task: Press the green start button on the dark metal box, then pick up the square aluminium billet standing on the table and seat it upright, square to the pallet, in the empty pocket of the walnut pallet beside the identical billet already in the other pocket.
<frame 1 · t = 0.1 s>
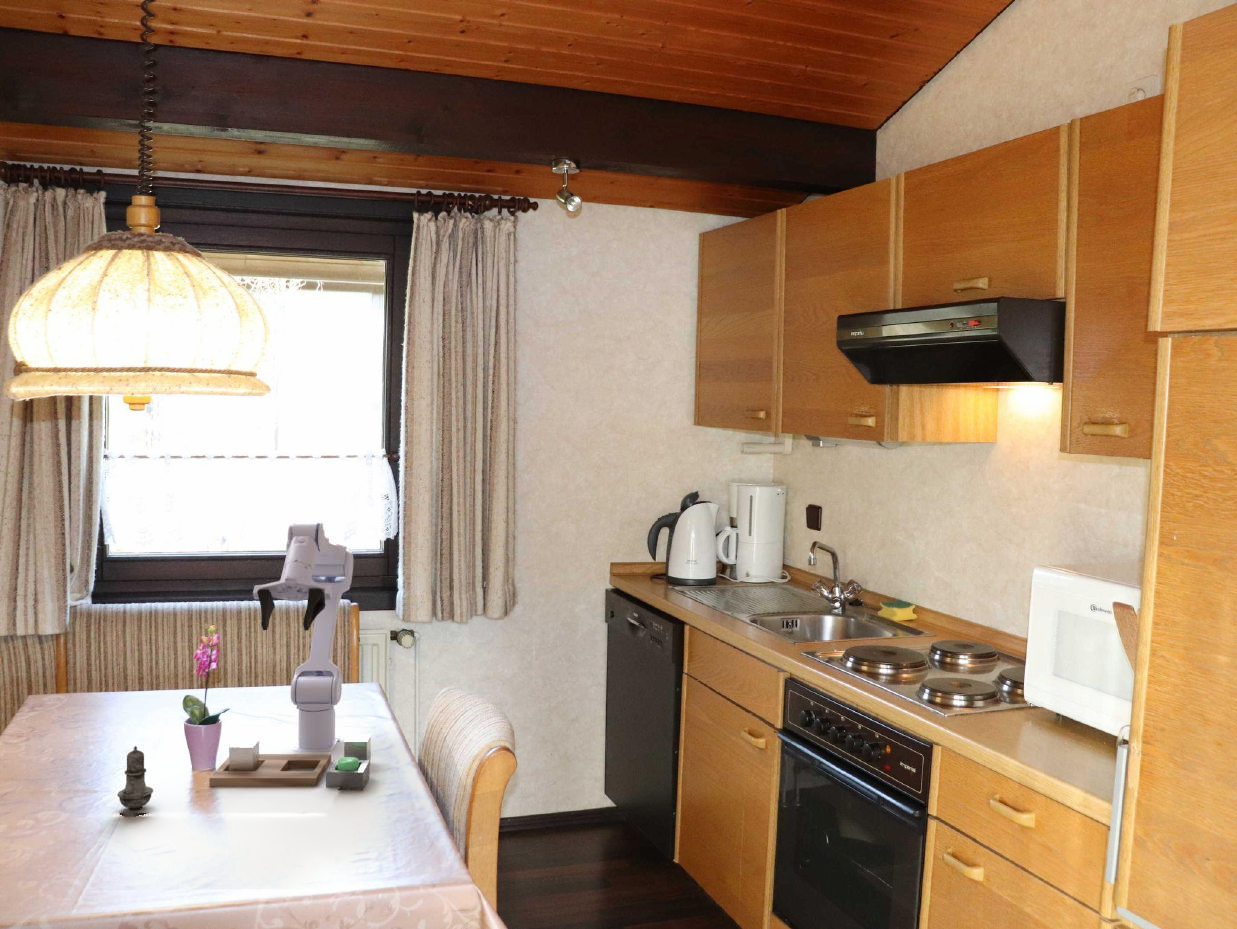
hand: (284, 627, 198), 32 cm above the table, tool tilted 50°, fingers open, 7 cm apart
billet: (357, 766, 216), on the table
salt shaker: (135, 812, 190), on the table
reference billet: (244, 773, 209), point 1 cm above the table, touching pallet
pallet: (272, 776, 209), on the table
button box: (347, 783, 206), on the table
start button: (348, 767, 206), point 3 cm above the table, slide at 0.0 cm
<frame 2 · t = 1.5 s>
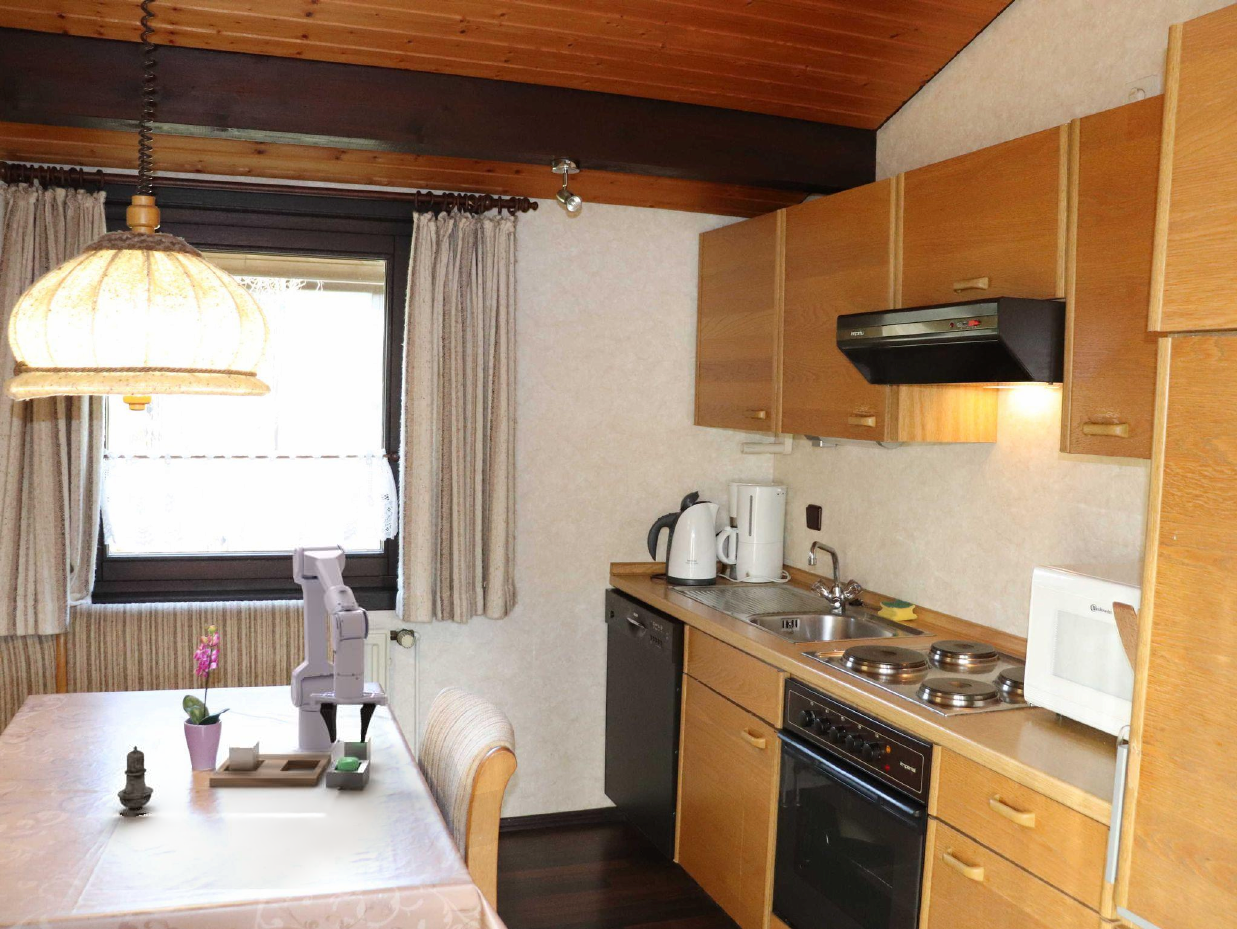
hand: (348, 741, 205), 8 cm above the table, tool pointing down, fingers open, 5 cm apart
nothing on the table moved.
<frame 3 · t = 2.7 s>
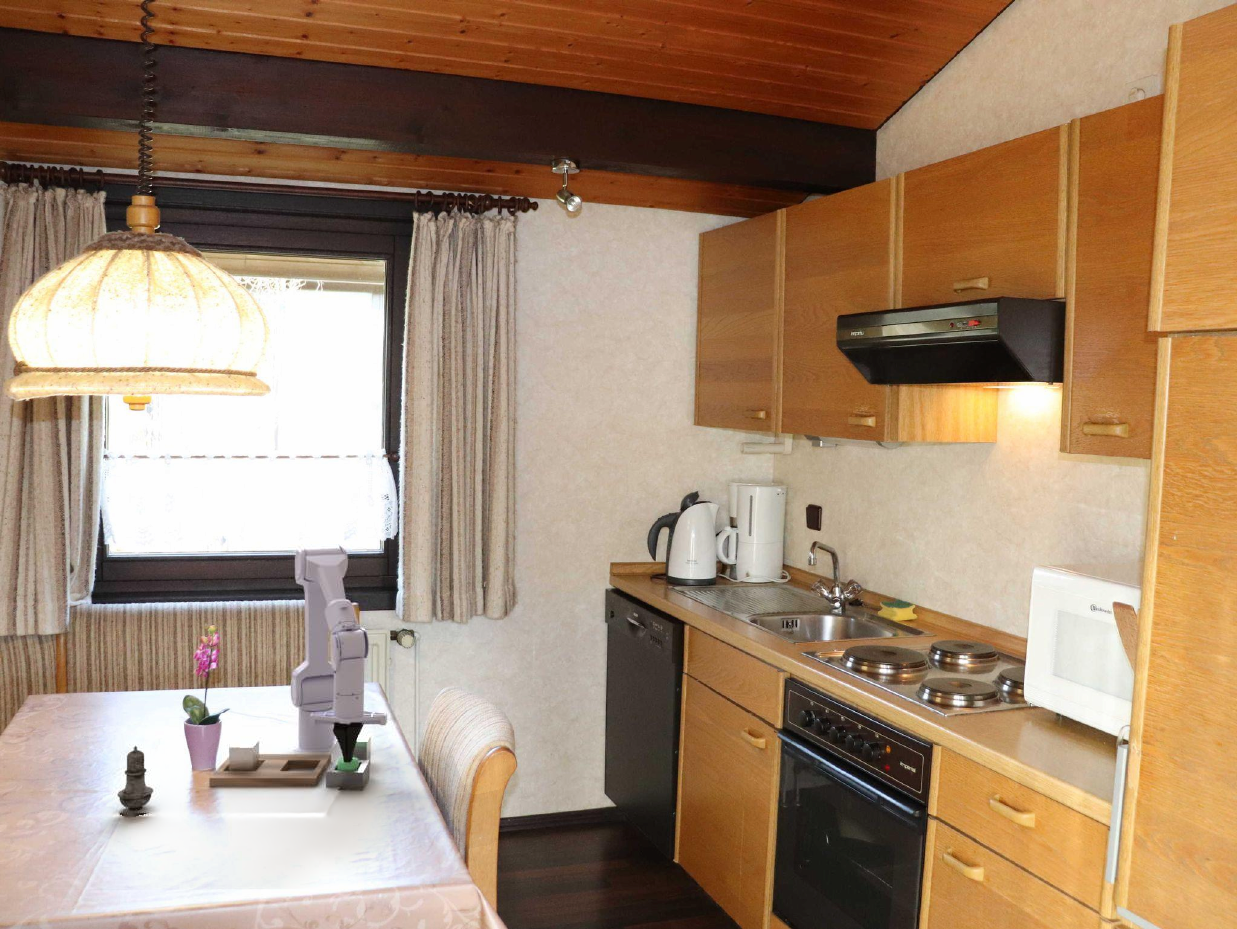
hand: (348, 760, 206), 5 cm above the table, tool pointing down, fingers closed, pressing on start button
start button: (348, 767, 206), point 3 cm above the table, slide at 0.0 cm, touching gripper
everything else where it was.
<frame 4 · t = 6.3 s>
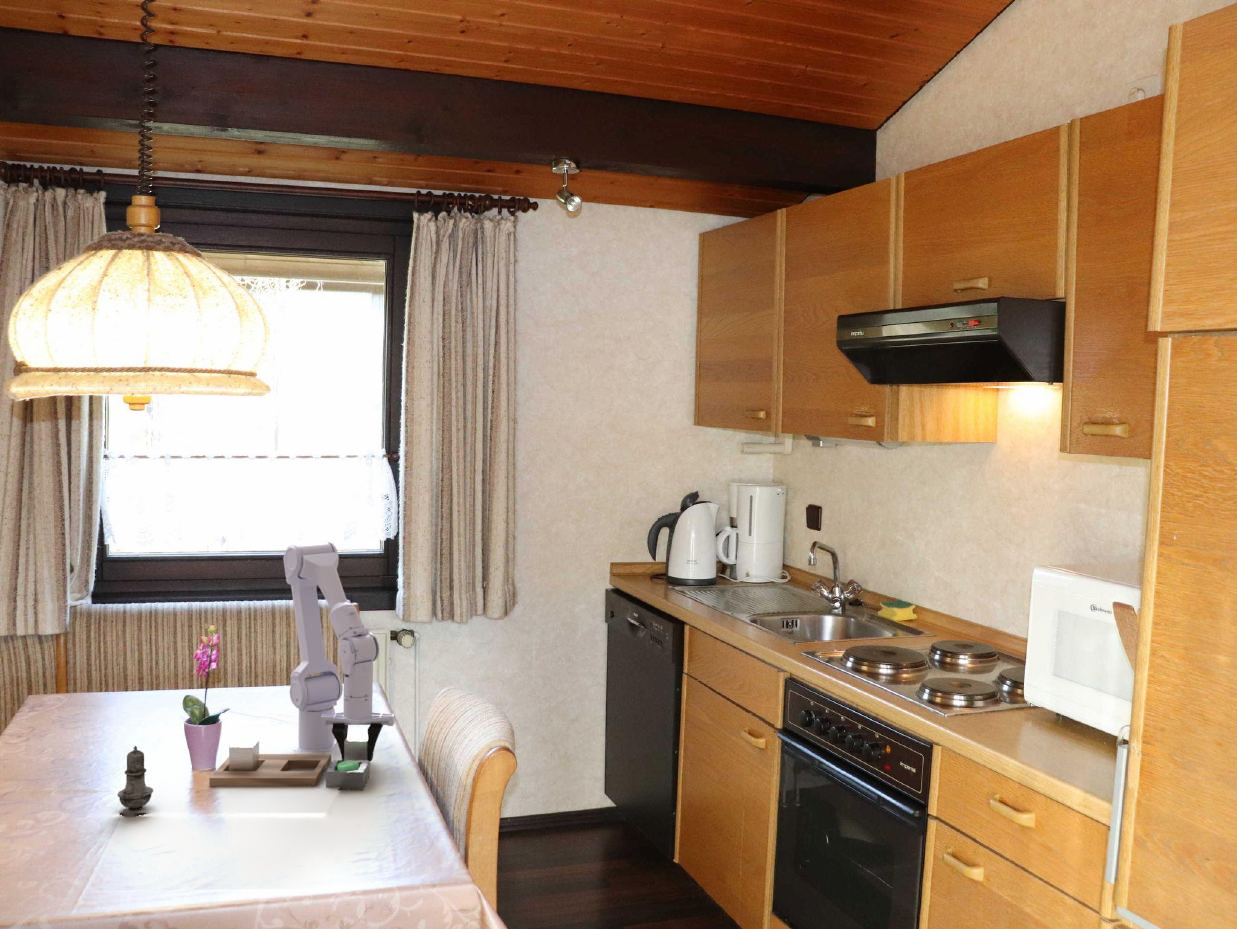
hand: (357, 759, 216), 1 cm above the table, tool pointing down, fingers closed on billet, 4 cm apart
billet: (357, 766, 216), on the table, touching gripper
start button: (348, 771, 206), point 2 cm above the table, slide at 0.8 cm
everything else where it was.
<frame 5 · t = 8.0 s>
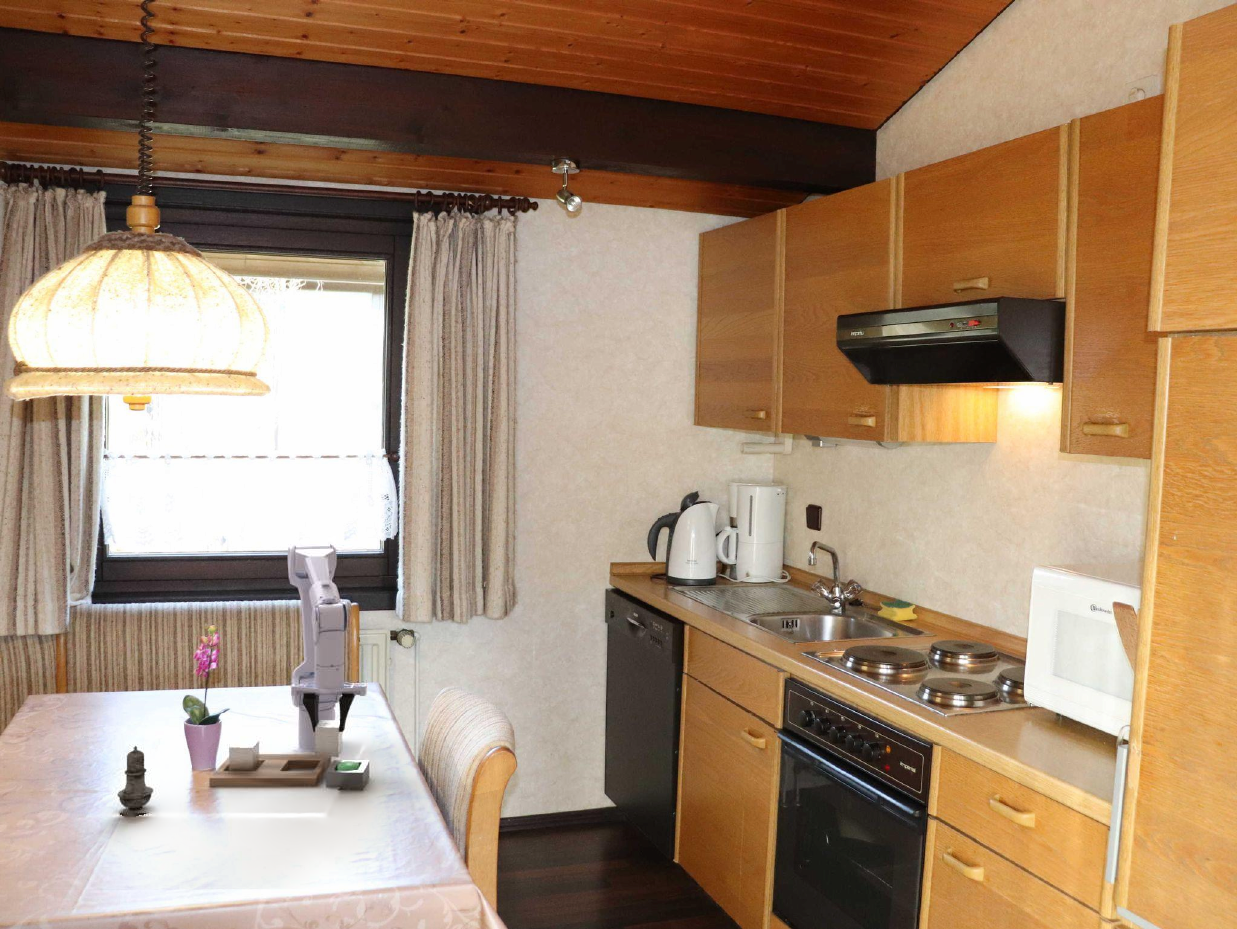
hand: (328, 730, 212), 8 cm above the table, tool pointing down, fingers closed on billet, 4 cm apart
billet: (328, 752, 212), point 4 cm above the table, touching gripper
everything else where it was.
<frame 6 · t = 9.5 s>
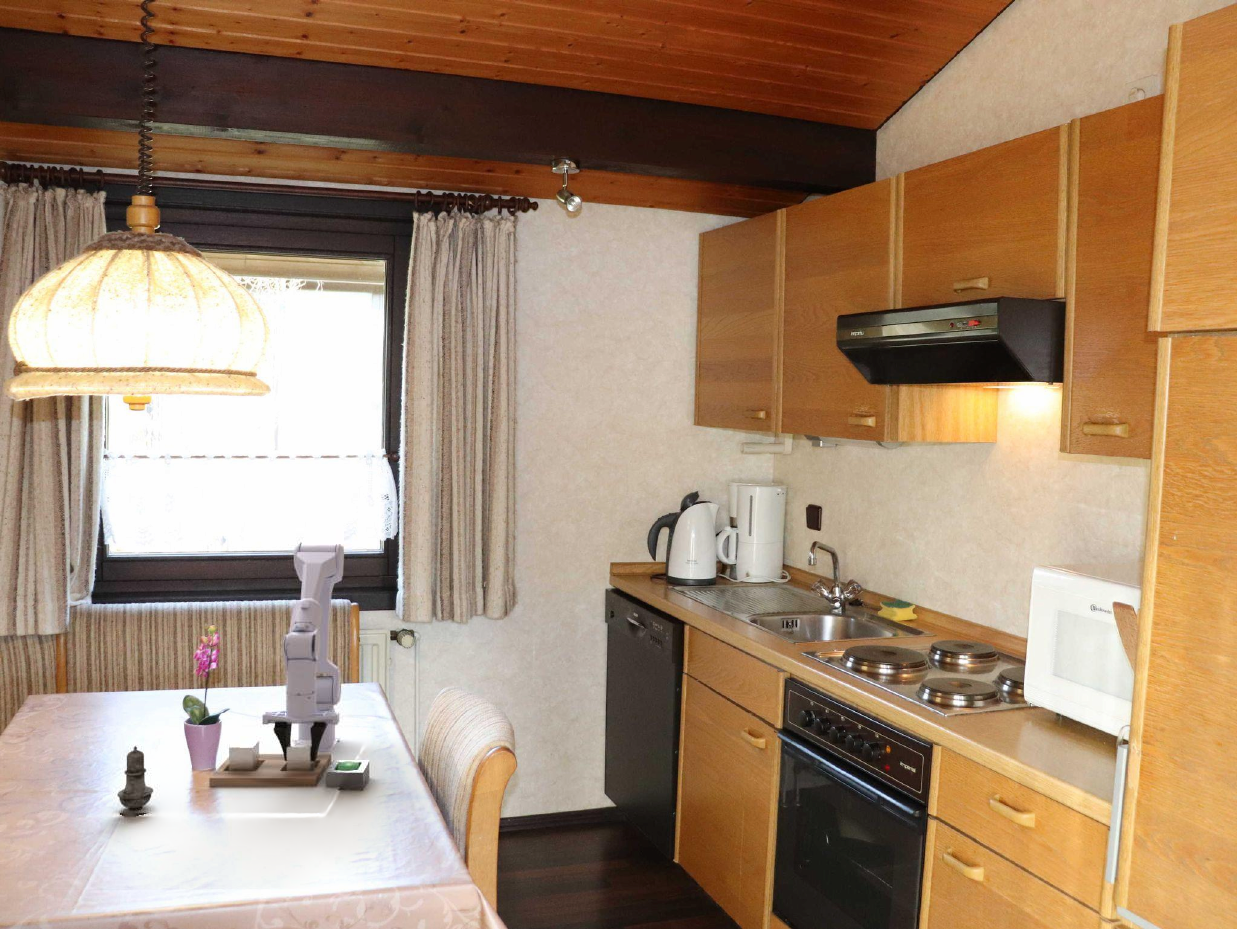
hand: (300, 759, 209), 3 cm above the table, tool pointing down, fingers closed on billet, 4 cm apart
billet: (300, 773, 209), point 1 cm above the table, touching gripper, pallet
everything else where it was.
when the fingers open (3 cm above the table, at t = 10.1 s): billet stays where it is, resting on pallet.
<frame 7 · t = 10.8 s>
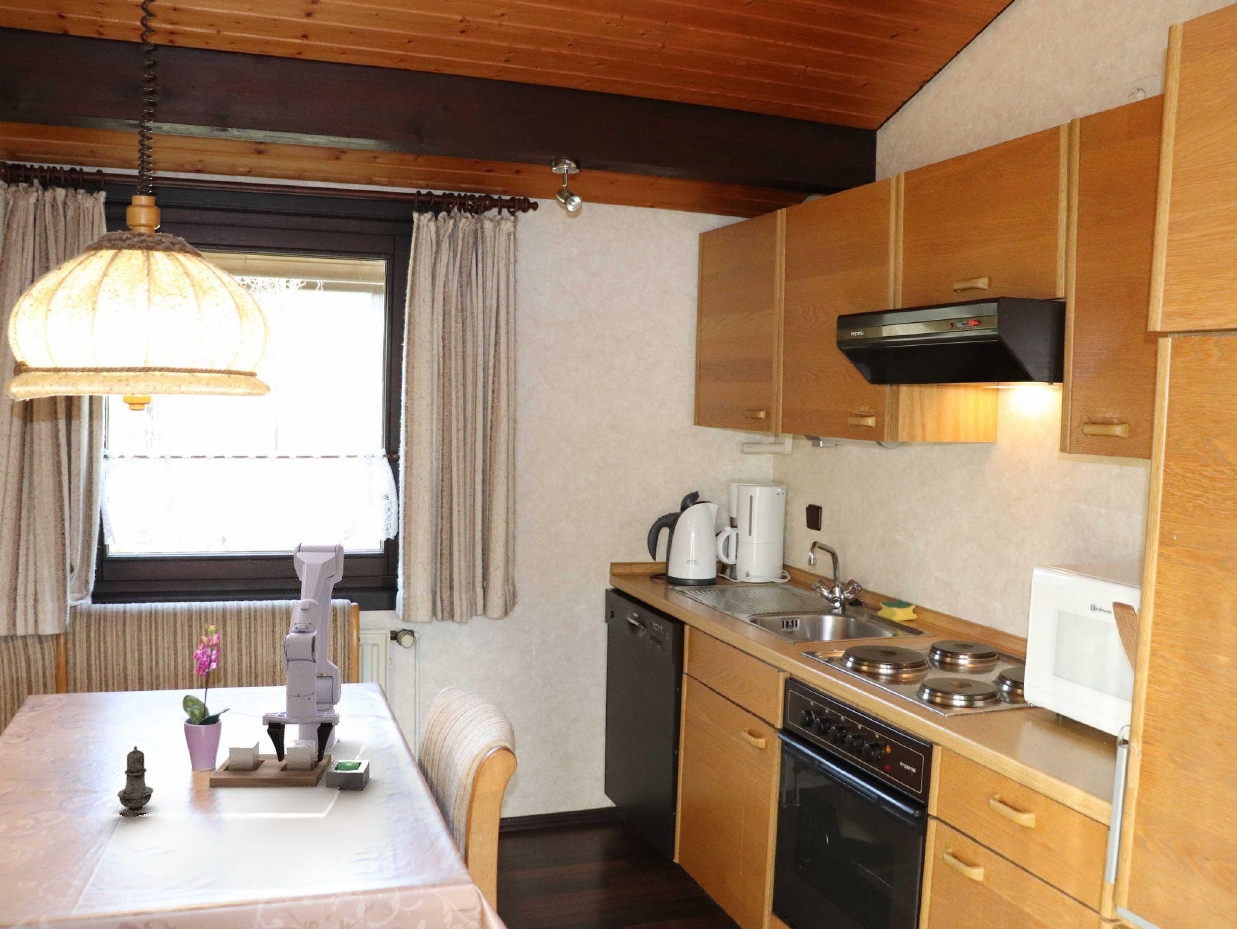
hand: (300, 760, 209), 3 cm above the table, tool pointing down, fingers open, 7 cm apart
billet: (301, 773, 209), point 1 cm above the table, touching pallet
everything else where it was.
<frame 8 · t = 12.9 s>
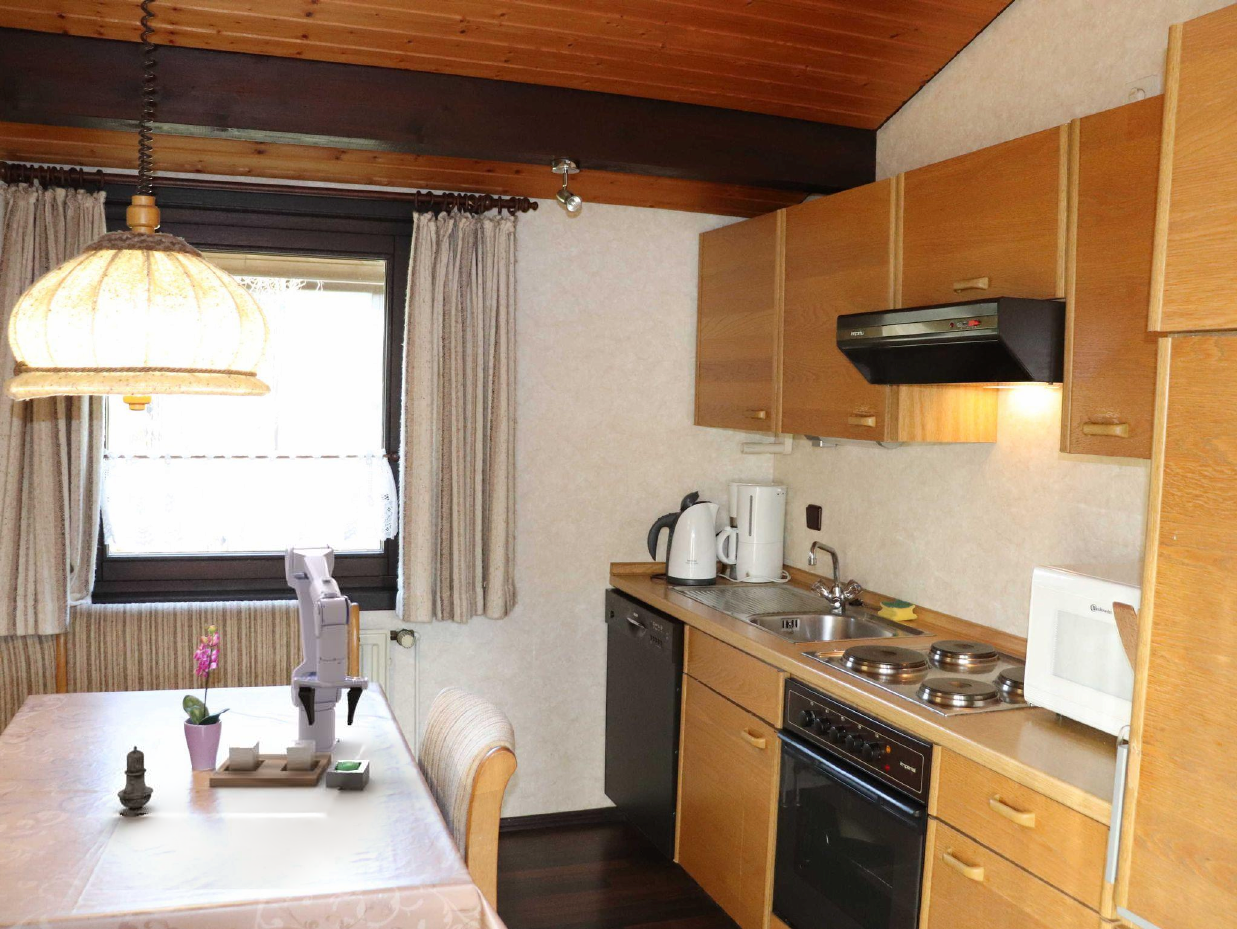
hand: (330, 723, 213), 9 cm above the table, tool pointing down, fingers open, 7 cm apart
nothing on the table moved.
at the end: billet 0.1 cm from the target spot on the pallet, point 0.6 cm above the pallet's base; billet tilted 0°; start button slide at 0.8 cm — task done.
